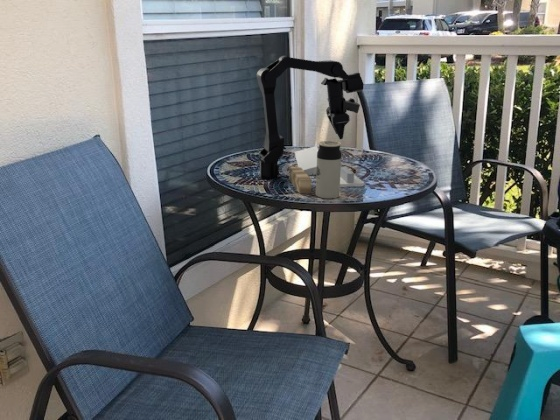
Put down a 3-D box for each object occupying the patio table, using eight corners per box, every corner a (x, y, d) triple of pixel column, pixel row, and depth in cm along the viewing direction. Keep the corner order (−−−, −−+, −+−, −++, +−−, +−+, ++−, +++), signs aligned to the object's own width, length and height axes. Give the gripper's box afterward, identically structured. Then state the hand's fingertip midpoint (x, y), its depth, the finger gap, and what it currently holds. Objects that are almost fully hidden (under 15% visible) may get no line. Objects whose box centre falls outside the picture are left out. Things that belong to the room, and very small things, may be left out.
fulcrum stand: (337, 186, 202) (338, 174, 200) (328, 178, 213) (329, 166, 211) (364, 185, 203) (365, 173, 202) (354, 177, 215) (354, 165, 213)
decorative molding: (302, 183, 218) (327, 176, 217) (299, 171, 216) (324, 164, 216) (297, 162, 250) (319, 156, 250) (294, 151, 249) (316, 146, 248)
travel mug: (338, 192, 195) (341, 140, 189) (339, 199, 187) (342, 145, 182) (315, 192, 195) (317, 140, 190) (315, 198, 188) (317, 145, 182)
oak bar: (311, 193, 194) (311, 179, 193) (299, 194, 194) (299, 180, 192) (300, 180, 211) (300, 166, 209) (289, 180, 210) (289, 167, 209)
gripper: (361, 96, 202) (365, 139, 208) (352, 88, 220) (355, 128, 225) (330, 100, 202) (334, 143, 208) (324, 92, 220) (328, 132, 225)
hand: (339, 136), depth 216 cm, fingers open, 9 cm apart
